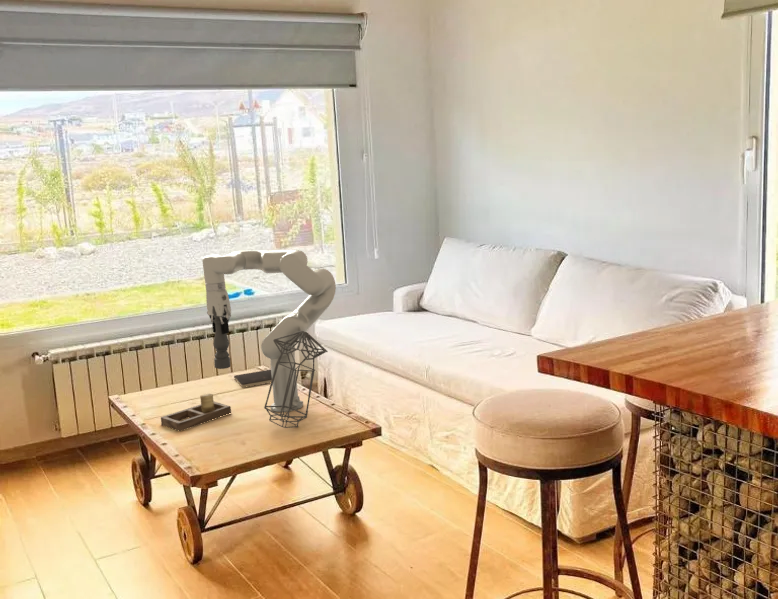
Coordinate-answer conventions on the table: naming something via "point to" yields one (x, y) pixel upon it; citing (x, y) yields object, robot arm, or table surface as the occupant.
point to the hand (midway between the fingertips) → (221, 332)
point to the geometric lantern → (276, 341)
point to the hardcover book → (254, 378)
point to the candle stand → (196, 414)
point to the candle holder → (220, 344)
